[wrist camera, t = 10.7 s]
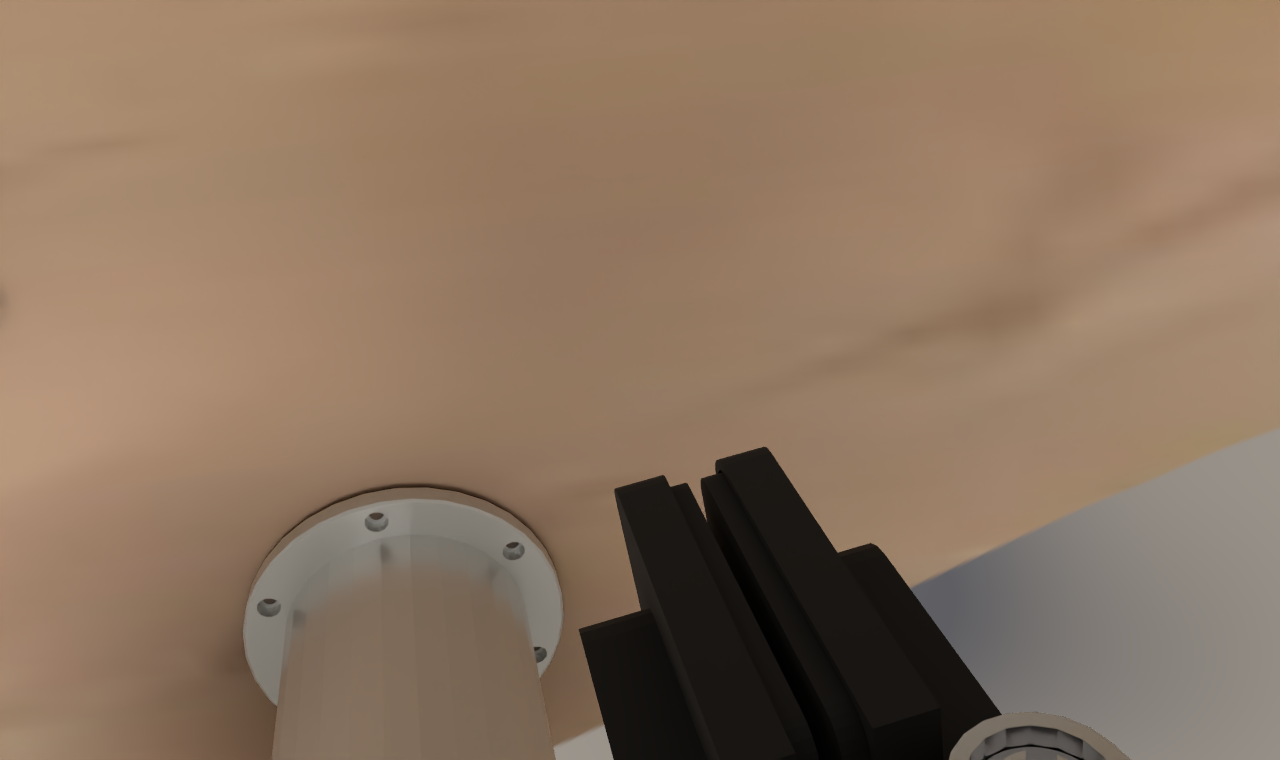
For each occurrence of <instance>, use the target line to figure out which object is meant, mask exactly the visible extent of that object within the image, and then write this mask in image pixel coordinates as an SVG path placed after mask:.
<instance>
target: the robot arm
mask: <svg viewBox="0 0 1280 760" xmlns="http://www.w3.org/2000/svg"><path fill="white" fill-rule="evenodd" d="M715 470H716V474H715V475H712V476H708V477H705V478H701V490H702V496H703V501H704V507H705V512H706V518H707V521H706V519H705V517H704V515H703V513H702V511H701V509H700V507H699V505H698V503H697V501H696V499H695V497H694V495H693V493H692V491H691V489H690V487H689V486H688V484H687V483H683V484H680V485H676V486H673V487H670V486H669V484H668V481H667V480H666V478H665V476H663V475H662V476H658V477H655V478H651V479H647V480H644V481H640V482H637V483H633V484H630V485H626V486H622V487H619V488H615V498H616V502H617V507H618V511H619V516H620V520H621V524H622V529H623V533H624V537H625V542H626V546H627V550H628V555H629V559H630V563H631V568H632V572H633V577H634V581H635V585H636V590H637V594H638V598H639V603H640V607H641V611H639V612H635V613H632V614H628V615H625V616H622V617H618V618H615V619H611V620H608V621H605V622H601V623H598V624H594V625H591V626H588V627H584V628H581V629H579V632H580V636H581V639H582V643H583V647H584V650H585V654H586V658H587V662H588V665H589V669H590V673H591V677H592V680H593V684H594V688H595V691H596V695H597V699H598V703H599V706H600V710H601V714H602V717H603V721H604V725H605V729H606V732H607V736H608V739H609V743H610V747H611V751H612V754H613V758H614V760H1130V758H1129V757H1127V756H1126V755H1125V754H1124V753H1123V752H1122V751H1121V750H1120V749H1119V748H1118V747H1117V746H1116V745H1114V744H1113V743H1112V742H1110V741H1109V740H1108V739H1106V738H1105V737H1103V736H1102V735H1100V734H1099V733H1098V732H1096V731H1095V730H1093V729H1092V728H1090V727H1088V726H1086V725H1083V724H1081V723H1078V722H1075V721H1073V720H1071V719H1068V718H1066V717H1063V716H1057V715H1052V714H1046V713H1039V712H1022V713H1021V712H1020V713H1007V714H1003V715H1002V714H1001V713H1000V712H999V710H998V709H997V707H996V706H995V705H994V704H993V702H992V701H991V699H990V698H989V697H988V695H987V694H986V692H985V691H984V690H983V688H982V687H981V686H980V684H979V683H978V681H977V680H976V679H975V677H974V676H973V675H972V673H971V672H970V670H969V669H968V668H967V666H966V665H965V664H964V663H963V661H962V660H961V658H960V657H959V655H958V654H957V653H956V651H955V650H954V649H953V647H952V646H951V644H950V643H949V642H948V640H947V639H946V638H945V636H944V635H943V633H942V632H941V631H940V629H939V628H938V627H937V625H936V624H935V623H934V621H933V620H932V618H931V617H930V616H929V614H928V613H927V612H926V610H925V609H924V608H923V606H922V605H921V603H920V602H919V601H918V599H917V598H916V596H915V595H914V594H913V592H912V591H911V590H910V588H909V587H908V585H907V584H906V583H905V581H904V580H903V579H902V577H901V576H900V575H899V573H898V572H897V570H896V569H895V568H894V566H893V565H892V564H891V562H890V561H889V559H888V558H887V557H886V555H885V554H884V553H883V552H882V551H881V550H880V549H879V547H878V546H876V545H874V544H872V543H869V544H866V545H863V546H859V547H856V548H852V549H849V550H846V551H842V552H839V553H837V551H836V550H835V548H834V547H833V545H832V544H831V542H830V541H829V539H828V538H827V536H826V535H825V533H824V532H823V530H822V529H821V527H820V526H819V524H818V523H817V521H816V520H815V518H814V517H813V515H812V514H811V512H810V511H809V509H808V508H807V506H806V505H805V503H804V502H803V500H802V499H801V497H800V496H799V494H798V493H797V491H796V490H795V488H794V487H793V485H792V484H791V482H790V481H789V479H788V478H787V476H786V475H785V473H784V471H783V470H782V468H781V467H780V465H779V464H778V462H777V461H776V459H775V458H774V456H773V455H772V453H771V452H770V451H769V450H768V448H766V447H762V448H758V449H754V450H751V451H747V452H744V453H740V454H737V455H733V456H730V457H726V458H722V459H719V460H717V461H716V463H715ZM563 618H564V614H563V601H562V592H561V588H560V584H559V580H558V576H557V573H556V570H555V568H554V565H553V563H552V561H551V559H550V557H549V555H548V553H547V550H546V549H545V548H544V546H543V545H542V544H541V543H540V541H539V540H538V539H537V538H536V536H535V535H534V534H533V532H532V531H531V530H530V529H528V528H527V527H526V526H525V525H524V524H522V523H521V522H520V521H519V520H518V519H516V518H515V517H514V516H513V515H511V514H510V513H508V512H506V511H504V510H502V509H501V508H499V507H497V506H495V505H493V504H491V503H489V502H487V501H485V500H482V499H479V498H476V497H473V496H469V495H466V494H463V493H460V492H456V491H448V490H441V489H434V488H393V489H388V490H382V491H377V492H371V493H366V494H362V495H359V496H356V497H353V498H350V499H347V500H345V501H342V502H339V503H336V504H333V505H331V506H330V507H328V508H326V509H324V510H322V511H320V512H319V513H317V514H315V515H313V516H311V517H309V518H308V519H306V520H305V521H303V522H302V523H301V524H300V525H298V526H297V527H296V528H295V529H293V530H292V531H291V532H290V533H288V534H287V535H286V536H285V537H283V538H282V540H281V541H280V542H279V543H278V544H277V545H276V547H275V548H274V549H273V550H272V551H271V553H270V554H269V555H268V556H267V557H266V559H265V560H264V562H263V563H262V565H261V567H260V569H259V571H258V573H257V575H256V577H255V579H254V580H253V582H252V585H251V589H250V593H249V597H248V601H247V604H246V609H245V618H244V627H243V640H244V648H245V656H246V659H247V662H248V664H249V667H250V669H251V672H252V674H253V677H254V679H255V681H256V682H257V684H258V685H259V687H260V688H261V689H262V691H263V692H264V694H265V695H266V697H267V698H268V699H269V700H270V701H271V702H272V703H273V704H274V705H275V706H276V707H277V714H276V723H275V732H274V742H273V751H272V760H556V759H555V754H554V749H553V744H552V739H551V734H550V728H549V723H548V718H547V713H546V708H545V703H544V698H543V693H542V688H541V683H540V678H541V676H542V675H543V673H544V672H545V670H546V669H547V667H548V666H549V664H550V663H551V661H552V658H553V656H554V653H555V651H556V648H557V646H558V643H559V641H560V637H561V631H562V624H563Z"/></svg>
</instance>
